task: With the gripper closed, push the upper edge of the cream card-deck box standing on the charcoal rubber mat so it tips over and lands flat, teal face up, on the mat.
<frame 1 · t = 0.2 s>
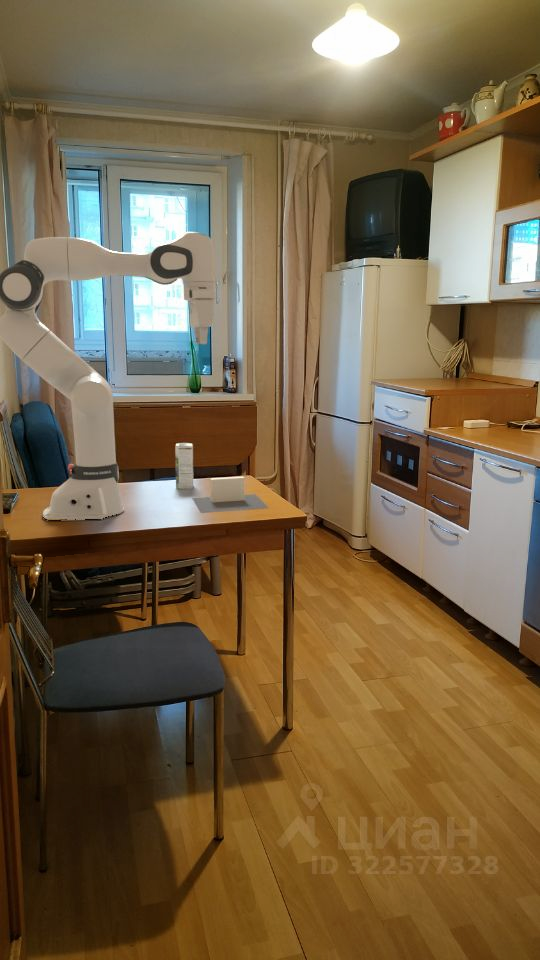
hand: (201, 343, 194), 47 cm above the table, tool pointing down, fingers open, 8 cm apart
syrup box: (185, 487, 228), on the table
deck: (227, 500, 208), resting on mat
mat: (229, 504, 205), on the table
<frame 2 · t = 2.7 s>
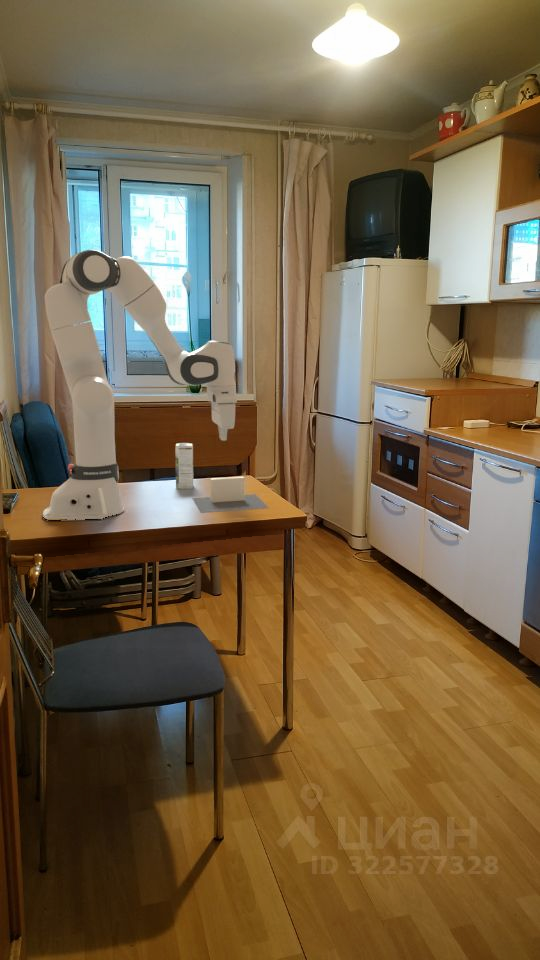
hand: (223, 439, 211), 18 cm above the table, tool pointing down, fingers closed
nothing on the table moved.
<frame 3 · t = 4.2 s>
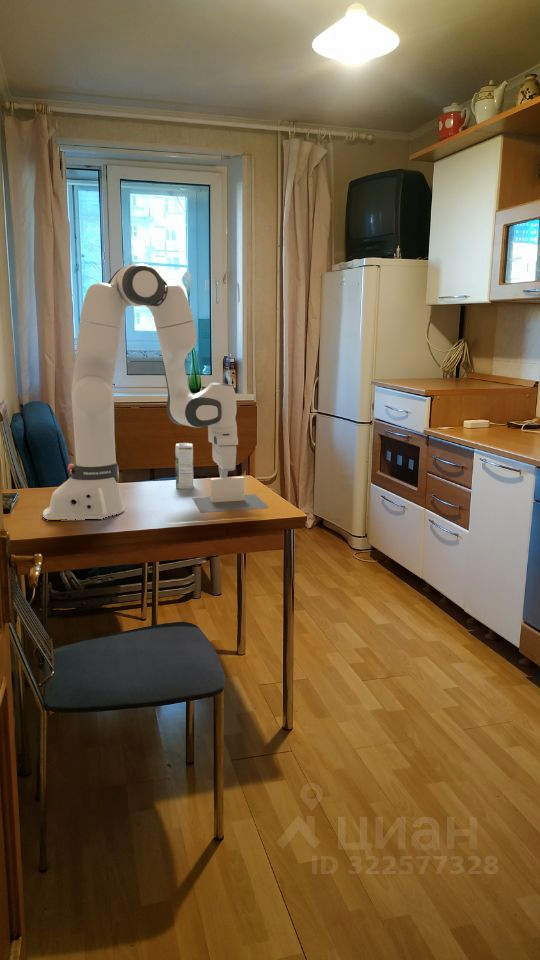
hand: (223, 479, 212), 6 cm above the table, tool pointing down, fingers closed
nothing on the table moved.
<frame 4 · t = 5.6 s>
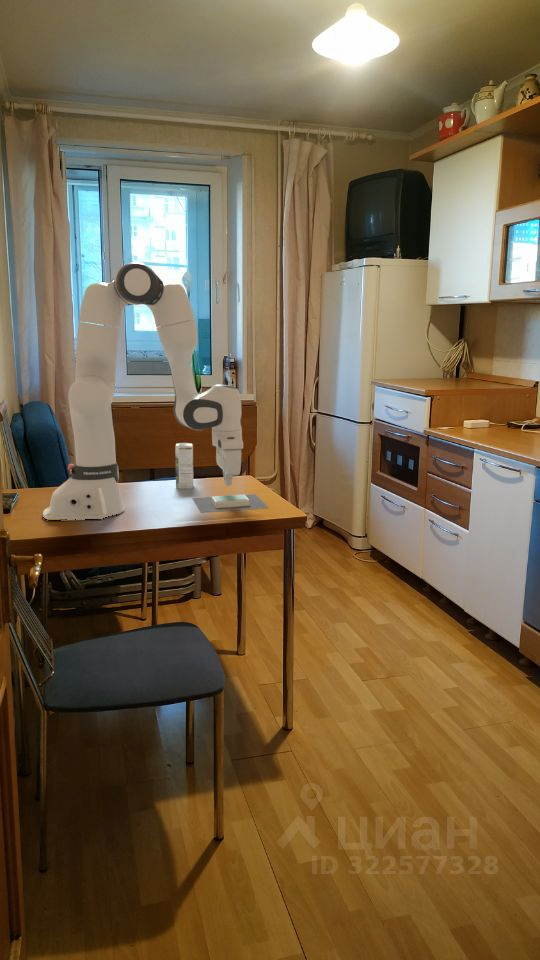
hand: (227, 484, 206), 6 cm above the table, tool pointing down, fingers closed
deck: (228, 498, 207), point 1 cm above the table, tilted 90°, touching mat
everything else where it was.
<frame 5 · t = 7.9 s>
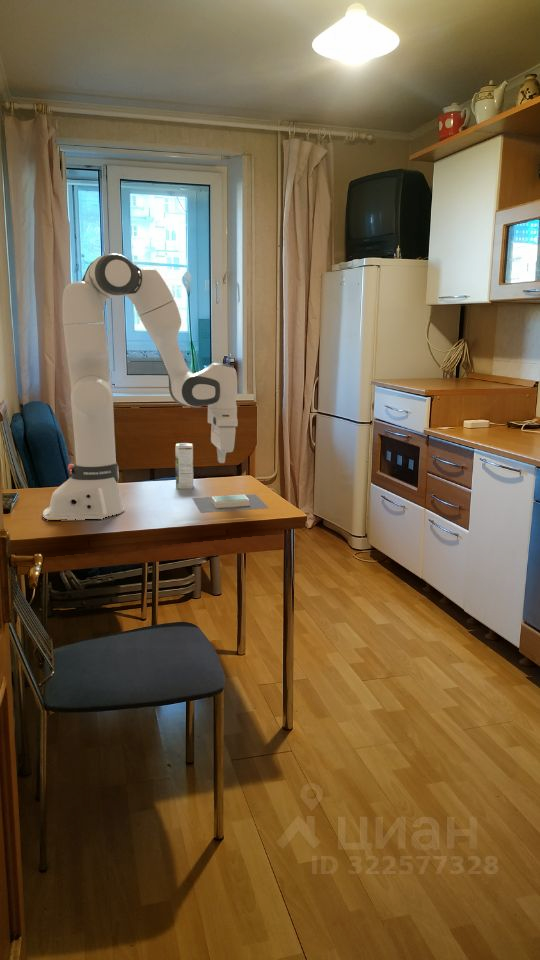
hand: (221, 462, 210), 11 cm above the table, tool pointing down, fingers closed
nothing on the table moved.
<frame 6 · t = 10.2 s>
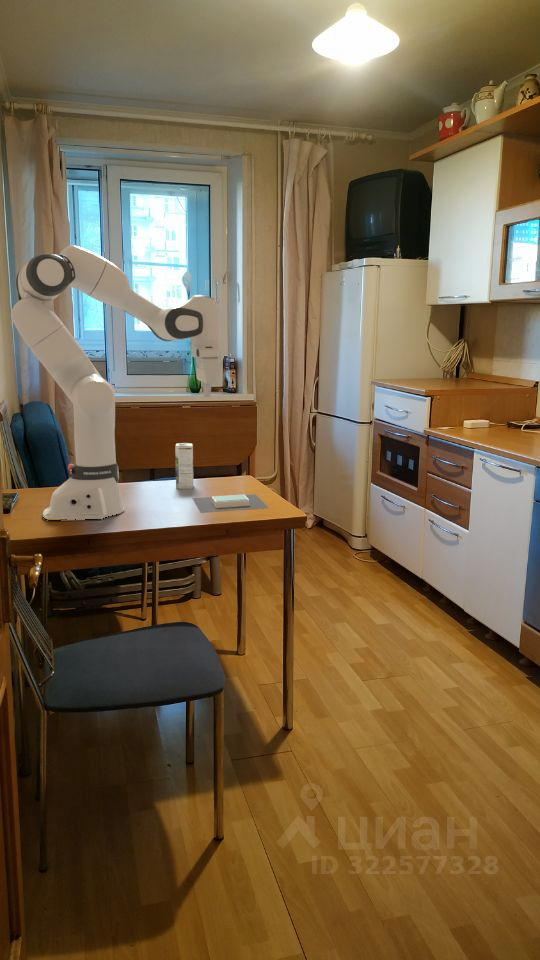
hand: (207, 396, 210), 31 cm above the table, tool pointing down, fingers closed
nothing on the table moved.
at the end: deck tilted 90°; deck inside the target area on the mat (2.0 cm from its centre), point 1.3 cm above the mat's base; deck touching mat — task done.
